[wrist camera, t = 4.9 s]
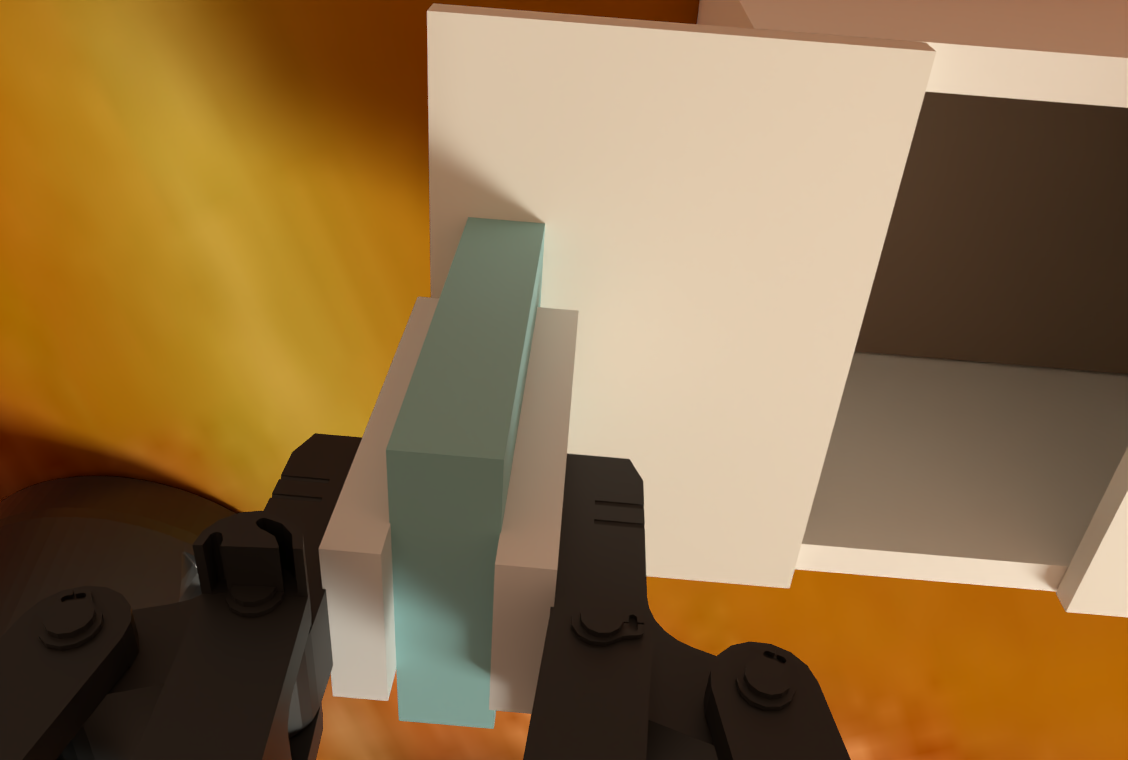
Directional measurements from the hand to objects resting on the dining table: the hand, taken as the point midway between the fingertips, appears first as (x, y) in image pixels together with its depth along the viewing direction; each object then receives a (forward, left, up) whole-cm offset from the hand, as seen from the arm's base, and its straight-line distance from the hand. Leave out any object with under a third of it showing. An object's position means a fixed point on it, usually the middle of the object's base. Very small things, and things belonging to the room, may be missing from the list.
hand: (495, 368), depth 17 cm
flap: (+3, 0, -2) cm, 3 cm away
